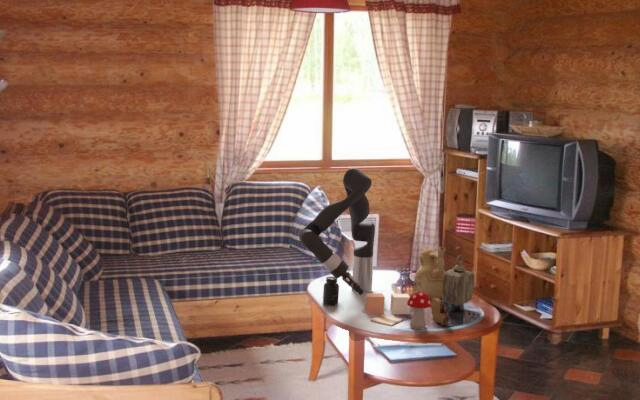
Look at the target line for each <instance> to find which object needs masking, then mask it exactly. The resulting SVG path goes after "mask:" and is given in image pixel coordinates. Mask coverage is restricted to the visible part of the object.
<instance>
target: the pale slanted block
mask: <svg viewBox="0 0 640 400" xmlns="http://www.w3.org/2000/svg"><path fill="white" fill-rule="evenodd" d="M410 296H411V295H409V293H391V296H390V312H391V313H392V314H393V315H410V313H411V307H410V306H408V305H407V302H408V299H409V298H410Z"/></svg>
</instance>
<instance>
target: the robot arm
mask: <svg viewBox="0 0 640 400" xmlns="http://www.w3.org/2000/svg"><path fill="white" fill-rule="evenodd" d="M342 184H343V187H344V191H345V193H346V197H345V198H343V199H341V200H338V201H335V202H332V203H330V204H328V205H326V206H325V207H323V209H321V211H320V212H318V214H317V216H315V217H314V218H313V220H312V221H310V222H309V223H308V224H307V225H306V226H305V227H304V228H303V229H302V230H301V231H300V233H299V235H298V236H299V237H298V238H299V241H300V243H301V244H302V245H303V246H304V247H305V248H306V249H307V250H309V251H310V252H311V253H312V254H313V255H314V257H315V258H316V259H317V260H318V262H320V263H321V265H322V266H323V267H324V269H326V270H327V271H328V272H329V273H330V274H331V275H332V277H335V278H337V279H340V278H341V279H342V281H343V282H344V283H346V284H347V286H349V287H350V288H351V291H352V292H354V293H357V294H358V295H360V296H362V295H363V294H365V293H372V290H373V289H372V288H373V274H374V273H373V272H374V271H373V265H374V264H373V263H374V244H375V243H374V242H375V234H376V225H375V224H374V222H371V221H370V222H368V221H365V220H366V219H367V218H368V216H369V215H370V213H371V212H370V211H371V210H370V202H369V199H368V197H367V196H366V194H367V192H368V191H369V190H370V188H371V187H372V185H373V184H372V179H371V178H370V177H369V176H368V175H366V173H364V172H363V171H361V170H360V169H359V168H357V167H351V168H349V169H348V170H347V171H345V173H344V175H343V180H342ZM347 210H348V211H349V217H350V225H351V226H350V227H351V238H352V240H353V241H355V242H366V244H365V245H363V246H359V247H356V248H355V249H353V258H352V261H353V264H352V275H351V273H350V272H349V271H347V270H349V265H348V264H347V263H346V262H345V260H343V259H342V258H341V257H340V256H339V255H338V254H337V253H336V252H335V251H334V250H332V248H330V246H329V245H327V244H326V243H325V242H324V240H322V239H321V237H320V235H321V234H322V233H323V232H325V231H327V230H328V229H329V228H330V227H331V226H332V225H333V223H334V222H335V221H336V220H337V219H338V218H339V217H340V216H341V215H342V214H343V213H344V212H346V211H347Z"/></svg>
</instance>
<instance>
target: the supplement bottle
mask: <svg viewBox="0 0 640 400" xmlns="http://www.w3.org/2000/svg"><path fill="white" fill-rule="evenodd" d="M339 291H340V285H339V284H338V278H335V277H334V276H327V277H326V280H325V283H324V284H323V293H322V294H323V296H322V304H323V305H325V306H328V307H329V306H330V307H331V306H334V307H335V306H337V305H338V304H339V295H340V293H339Z"/></svg>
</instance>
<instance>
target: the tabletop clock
mask: <svg viewBox="0 0 640 400" xmlns="http://www.w3.org/2000/svg"><path fill="white" fill-rule="evenodd" d="M460 257H461V261H460V260H459V261H458V259H459V258H460ZM463 262H464V255H463V254H459V255H458V256H457V257H456V259H455V264H456V265H454V266H453V268H450V269H448V270H447V271H446V270H445V271H446V272H445V274H444V276H443V283H442V298H441V300H442V301H443V302H444V303H448V305H447V306H446V307H445V312H447V311H448V310H449V307H450V306H451V305H454V306H455V307H456V306H457V307H458V306H459V308H458V309H459V311H460V312H462V311H464V308H463V307H462V305H464V304H467V303H468V302H470V301H471V300H472V299H473V297H474V296H473V294H474V287H475V285H474V284H475V283H474V282H475V274H474V273H473V272H472V271H470V270H466V268H465V266H464V265H462V263H463Z"/></svg>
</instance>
